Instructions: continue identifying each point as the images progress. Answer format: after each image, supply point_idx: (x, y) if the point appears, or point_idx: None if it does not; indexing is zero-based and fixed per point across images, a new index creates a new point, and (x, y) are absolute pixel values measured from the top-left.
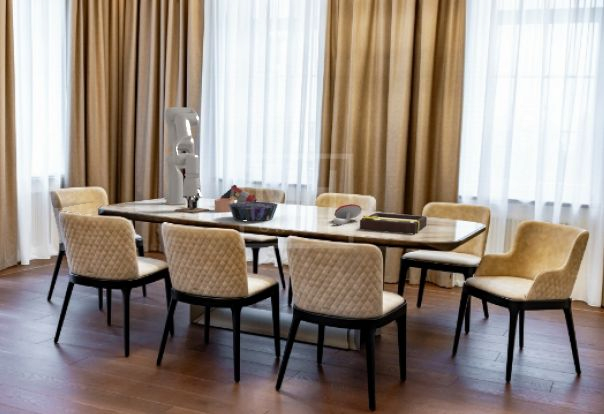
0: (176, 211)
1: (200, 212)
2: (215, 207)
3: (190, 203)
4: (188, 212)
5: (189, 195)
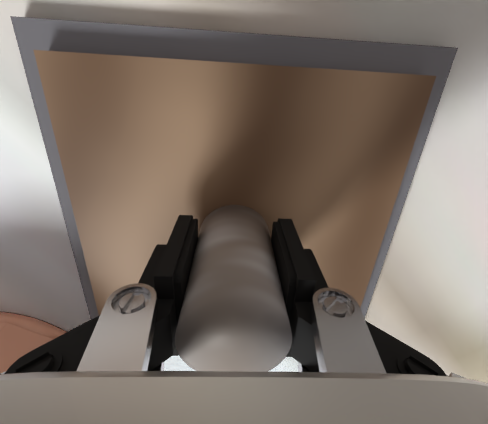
0: (374, 47)
1: (54, 181)
2: (8, 364)
3: (233, 253)
4: (145, 57)
5: (205, 378)
